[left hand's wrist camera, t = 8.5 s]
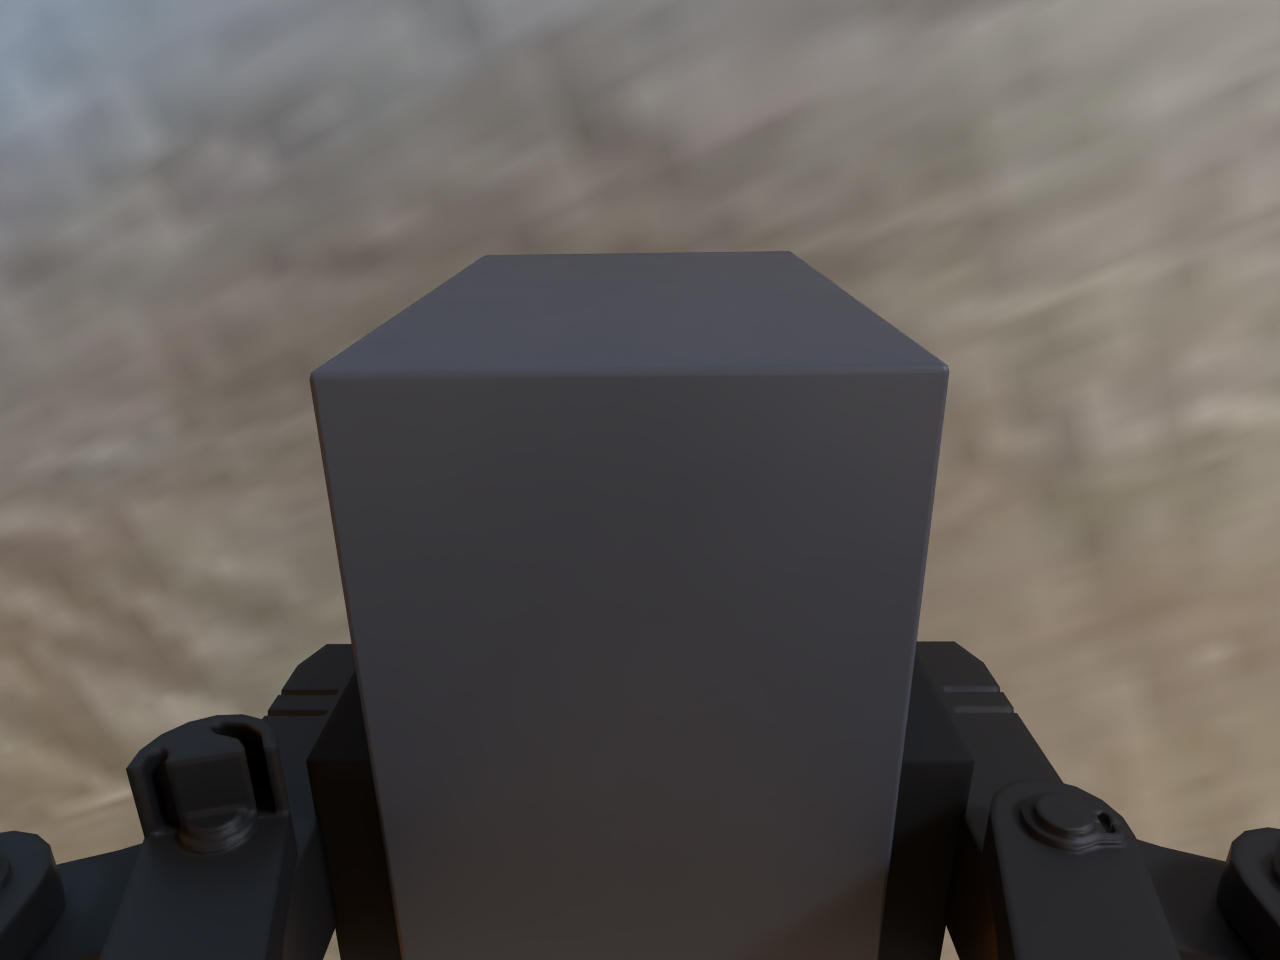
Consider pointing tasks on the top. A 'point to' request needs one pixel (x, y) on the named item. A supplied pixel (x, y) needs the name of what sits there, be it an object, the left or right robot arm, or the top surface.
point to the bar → (634, 603)
